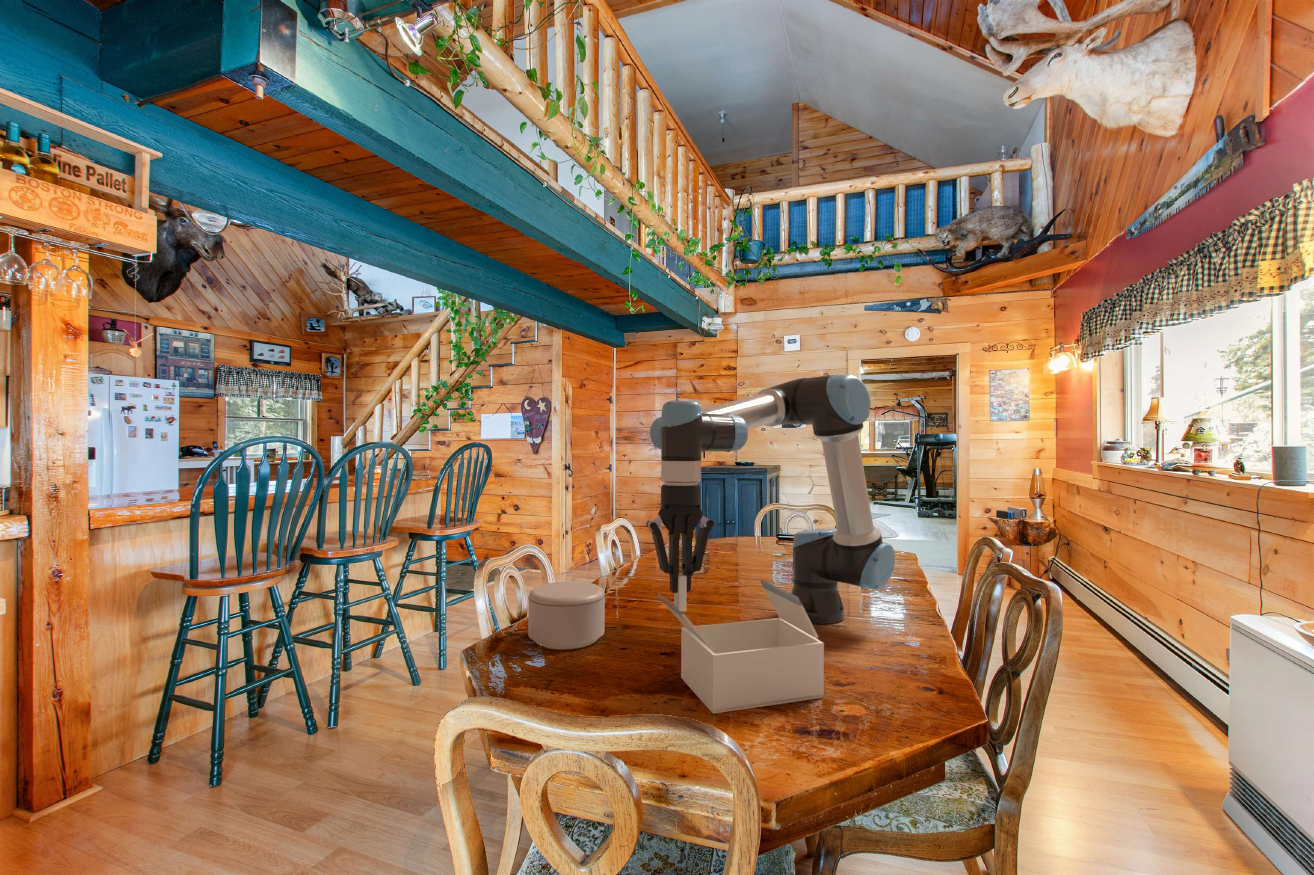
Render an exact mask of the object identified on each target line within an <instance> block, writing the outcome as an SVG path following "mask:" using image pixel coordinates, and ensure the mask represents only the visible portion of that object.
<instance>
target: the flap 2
mask: <svg viewBox="0 0 1314 875" xmlns="http://www.w3.org/2000/svg"><path fill="white" fill-rule="evenodd" d="M760 584H761V585H762V587H763V589H764V591H765V593H766V595H767V597H768V599H769V601H770V603H771V605H772V607H773V608H774V611H775V612H776V615H777V618H781V619H783V620H785V621H786V622H788V623H790V624H792V625H793V626H795V627H797V628H799V629H800V630H802V631H804V632H806V633H807V634H809V635H811V636H813V637H814V638H816V639H818V638H819V635H818V633H817V631H816V629H815V627H814V625H813V623H811V621H810V619H809V617H808V615H807V613H806V611H805V609H804V607H803V605H802V603H801V601H800V599H799V597H797V596H795V595H793V594H791V592H789V591H786V590H785V589H783V588H780V587H778V586H776V585H774V584H772V583H770V582H768V581H766V580H764V579H762V580H760Z"/></svg>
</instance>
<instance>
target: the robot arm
mask: <svg viewBox="0 0 1314 875" xmlns="http://www.w3.org/2000/svg"><path fill="white" fill-rule="evenodd" d="M871 403H872V402H871V398H870V394H869V391H868V388H867V387H866V385H865V384H864V382H863V381H862V380H860V379H859V377H857V376H855V375H853V374H838V373H836V374H831V375H830V374H829V375H821V376H814V377H802V378H796V379H793V380H789V381H786V382H783V383H780V384H777V385H773V386H770V387H767V388H762V389H761V390H760V391H758V393H757V394H756V395H752V396H748V397H747V396H746V397H743V398H740V399H735V400H732V401H728V402H724V403H720V404H715V405H711V406H707V407H703V408H702V404H701V403H700V402H699V401H694V400H693V401H692V400H670V401H665V402H664V404H663V405H662V409H661V414H660V415H661V416H659V417H657V418H655V419H654V420H653V422H652V423H651V425H650V428H649V437H650V441H651V443H652V444H653V446H654V447H655V448H656V449H659V450H660V453H661V455H660V457H661V462H660V463H661V464H660V467H661V468H660V470H661V471H660V481H661V482H663V483H664V484H662V485H661V486H660V509H659V511H658V516H656V517H655V518H654V519H652V520H648V521H647V522H646V526H647V528H648V529H649V531H650V532H651V535H652V539H653V543H654V544H653V545H654V549H655V554H656V557H657V561H658V566H659V569H660V571H662V572H663V573H664V574H668V575H669V590H670V593H672V594H673V605H674V606H675V607H676V608H677V609H678V610H680V611H681V612H682V613H683V612H687V598H688V594H687V593H690V592H691V590H692V576H694V573H695V572H700V571H701V570H702V566H703V562H704V557H705V552H706V548H707V544H708V539H709V534H710V532H711V530H712V529H713V527H714V526H715V522H714V520H712V519H709V518H708V517H707V516H705V515H704V512H703V510H702V506H701V503H702V487H701V485H700V484H699V483H700V482H701V481H702V453H703V452H724V453H730V452H736V451H740V450H741V449H743V448H744V446H745V445H746V443H747V442H748V438H749V430H751V429H752V430H753V429H755V428H759V427H763V426H767V427H777V426H780V425H781V426H782V425H805V426H806V425H812V430H813V436H815V437H817V439H819V440H820V442H821V445H822V449H823V456H824V460H825V466H826V471H827V472H826V473H827V478H828V484H829V489H830V495H831V499H832V500H831V501H832V506H833V512H834V517H835V523H836V528H837V529H834V528H833V529H831V528H825V529H824V528H823V529H819V528H818V529H806V530H801V531H797V532H795V533H794V535H793V544H792V563H793V564H792V569H793V570H792V574H793V575H792V578H793V579H792V581H793V582H792V588H791V590H790V593H791V594H793V595H795V596H797V597H799V599H800V601H801V603H802V605H803V607H804V609H805V611H806V613H807V615H808V617H809V619H810V621H811V623H812V624H835V623H839V622H842V621H843V620H844V619H845V607H844V604H843V601H842V598H841V594H840V592H839V589H838V588H839V587H838V583H842V584H846V585H850V586H851V585H852V586H855V587H860V588H861V589H871V590H880V589H882V588H883V587H885V586H886V585H887V584H888V582H889V581H890V579H891V577H892V575H893V573H894V571H895V570H894V569H895V564H896V552H895V549H894V547H893V546H892V545H891V544H889V543H888V542H883V541H884V540H883V537H882V532H881V531H880V529H879V528H877V527H875V526H874V522H873V517H872V510H871V504H870V503H871V502H870V498H869V493H868V488H867V486H868V484H867V479H866V473H865V470H864V462H863V456H862V450H861V444H860V438H859V434H860V433H861V431H862V430H863V429H864V423H865V422H866V421H867V420H868V417H869V416H870V413H871V412H870V409H871V405H872V404H871ZM662 525H664V528H666V530H667V531H668V532H667V536H668V554H667V551H666V545H665V542H664V537H663V533H662V531H661V530H662V528H663V526H662ZM697 526H699V528H698V532H697V535H696V540H695V543H694V549H693V538H694V531H695V529H696V527H697ZM680 540H681V572H680Z"/></svg>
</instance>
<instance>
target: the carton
mask: <svg viewBox="0 0 1314 875" xmlns="http://www.w3.org/2000/svg"><path fill="white" fill-rule="evenodd" d="M694 626H695V627H696V628H697V629H698V631H699V632H700V633H701V634H702V635H703V636H704V637H705V638H706V639H707V641H708V642H709V643H710V644H711V645H712V646H713V647H714V649H713V650H711V649H710V648H709V647H708V646H707V645H706V644H704V643H703V642H702V641H701V640H700V639H699V638H698V637H696V636H695V635H694V634H693V633H692V632H691V631H689V630H688V629H687V628H686V627H685V626H683V627H682V626H681V632H680V633H681V635H680V636H681V643H680V644H681V645H680V646H681V649H680V650H681V651H680V654H681V657H680V658H681V659H680V660H681V662H680V664H681V667H680V672H681V673H680V677H681V679H682V680H683V682H684V683H685V684H686V685H687V686H688V687H689V688H690V689H691V691H692V692H693V693H694V694H695V695H696V697H698V699H700V701H701V702H702V703H703V704H704V705H705V706H706V708H707V709H708V710H709V711H710V712H711V714H720V713H726V712H732V711H739V710H746V709H755V708H759V707H760V708H762V707H766V706H767V707H768V706H774V705H776V706H777V705H782V704H788V703H795V702H801V701H802V702H803V701H807V700H808V701H809V700H815V699H816V700H817V699H822V698H825V697H824V696H825V695H824V694H825V693H824V691H825V690H824V689H825V685H824V682H825V668H824V667H825V665H824V664H825V642H823V641H821V640H819V639H818V638H817V639H816V638H814V637H813V636H811V635H809V634H808V633H806V632H804V631H802V630H801V629H799V628H797V627H795V626H794V625H792V624H790V623H788V622H787V621H785V620H783V619H781V618H780V617H777V618H766V619H765V618H764V619H757V620H755V619H754V620H753V619H752V620H745V621H734V622H723V623H714V624H704V625H701V624H700V625H694Z"/></svg>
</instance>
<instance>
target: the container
mask: <svg viewBox="0 0 1314 875" xmlns="http://www.w3.org/2000/svg"><path fill="white" fill-rule="evenodd" d="M605 597H606V594H605V591H604V589H603V588H602V587H601V586H599V585H598V584H595V583H592V582H587V581H572V580H570V581H568V580H567V581H566V580H565V581H555V582H548V583H545V584H544V583H543V584H541V585H538V586H535V587H534V588H532V589H531V590H530V592H529V594H528V597H527V598H528V609H527V610H528V613H527V614H528V623H527V625H528V631H527V634H528V637H529V639H530V640H532V641H534V642H536V643H537V644H536V643H535V644H536V645H538V644H539V645H540V647H542V646H544V647H543V648H545V647H546V649H552V650H573V649H581V648H585V647H587V646H591V645H593V644H594V643H596V642H597V641H598V639H600V638H601V637H602V636H603V635H604V634H605V610H606V609H605V607H606V606H605V603H606V602H605V601H606V599H605ZM539 645H538V646H539Z"/></svg>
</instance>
